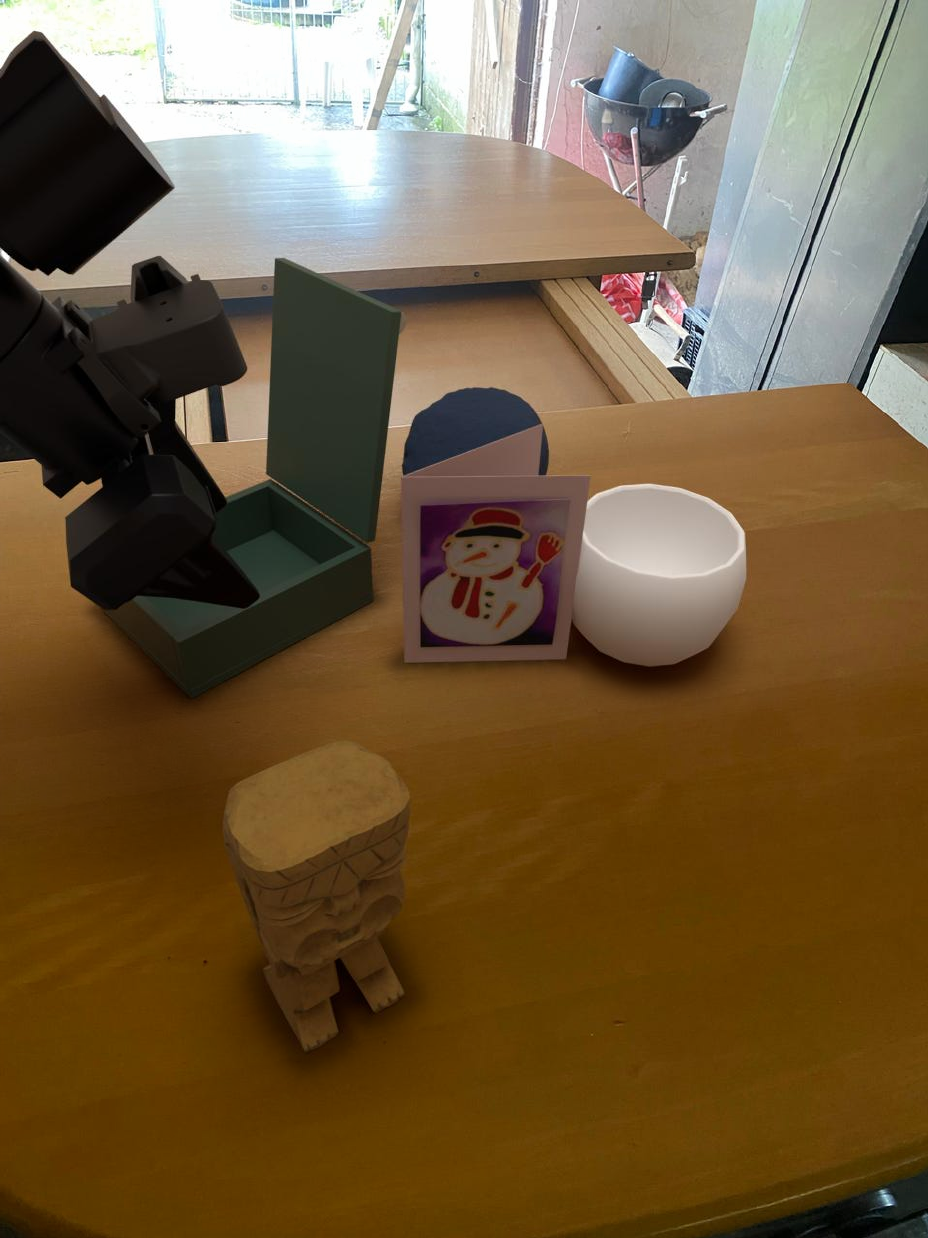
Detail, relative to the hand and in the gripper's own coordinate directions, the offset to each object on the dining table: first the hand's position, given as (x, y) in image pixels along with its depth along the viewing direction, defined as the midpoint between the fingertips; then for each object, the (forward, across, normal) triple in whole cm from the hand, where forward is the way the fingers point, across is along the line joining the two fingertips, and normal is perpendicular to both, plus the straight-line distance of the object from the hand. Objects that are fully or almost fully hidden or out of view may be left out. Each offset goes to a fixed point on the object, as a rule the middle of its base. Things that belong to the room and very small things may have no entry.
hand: (236, 551), depth 50 cm
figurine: (+12, -18, +8) cm, 23 cm away
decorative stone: (+24, +19, -10) cm, 32 cm away
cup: (+27, 0, -15) cm, 31 cm away
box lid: (+5, +17, -7) cm, 19 cm away
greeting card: (+21, +4, -6) cm, 22 cm away
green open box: (+12, +13, +7) cm, 19 cm away
